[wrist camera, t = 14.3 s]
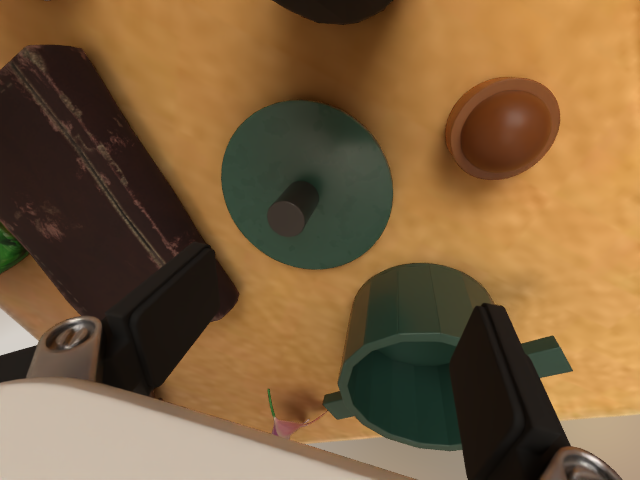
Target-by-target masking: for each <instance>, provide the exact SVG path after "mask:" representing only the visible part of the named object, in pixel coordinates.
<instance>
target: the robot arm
mask: <svg viewBox="0 0 640 480" xmlns="http://www.w3.org/2000/svg"><path fill="white" fill-rule="evenodd" d="M46 1H49V0H46ZM219 308H220V297H219V287H218V278H217V269H216V259H215V252H214V250H213V249H211V246H210V245H208V244H203V243H198V242H193V243H191V244H190V245H189V246H187V247H186V248H185V249H184V250H182V251H181V252H180V253H179V254H177V255H176V256H175V257H174V258H172V259H171V260H170V261H169V262H167V263H166V264H165V265H164V266H162V267H161V268H160V269H159V270H157V271H156V272H155V273H154V274H152V275H151V276H150V277H149V278H147V279H146V280H145V281H144V282H142V283H141V284H140V285H139V286H137V287H136V288H135V289H134V290H132V291H131V292H130V293H129V294H127V295H126V296H125V297H124V298H122V299H121V300H120V301H119V302H117V303H116V304H115V305H114V306H112V307H111V308H110V309H109V310H107V311H106V312H105V316H106V317H104V318H103V319H102V320H101V321H100V320H99V319H98V318H95V317H93V316H79V317H74V318H70V319H67V320H65V321H62V322H60V323H58V324H56V325H55V326H53V327H52V328H50V329H49V330H47V331H46V332H45V333H44V334H43V335H42V337H41V338H40V340H39V342H38V345H36V346H33V347H29V348H26V349H22V350H18V351H15V352H11V353H8V354H4V355H1V356H0V480H416V479H414V478H410V477H407V476H404V475H400V474H398V473H394V472H391V471H388V470H385V469H382V468H379V467H375V466H372V465H369V464H366V463H362V462H359V461H356V460H353V459H350V458H347V457H344V456H340V455H337V454H334V453H331V452H328V451H325V450H321V449H318V448H315V447H312V446H309V445H305V444H302V443H299V442H296V441H292V440H289V439H286V438H283V437H279V436H276V435H273V434H270V433H267V432H263V431H260V430H257V429H254V428H250V427H247V426H244V425H241V424H237V423H234V422H231V421H228V420H224V419H221V418H218V417H214V416H211V415H208V414H204V413H201V412H198V411H195V410H191V409H188V408H185V407H181V406H178V405H175V404H171V403H168V402H165V401H162V400H158V399H155V398H152V397H148V396H149V395H150V393H151V392H152V391H153V389H154V388H155V387H159V386H161V385H162V383H163V382H164V381H165V380H166V378H167V377H168V376H169V375H170V373H171V372H172V371H173V369H174V368H175V367H176V365H177V364H178V363H179V362H180V360H181V359H182V358H183V356H184V355H185V354H186V353H187V351H188V350H189V349H190V347H191V346H192V345H193V343H194V342H195V341H196V340H197V338H198V337H199V336H200V334H201V333H202V332H203V331H204V329H205V328H206V327H207V325H208V324H209V323H210V322H211V320H212V319H213V318H214V316H215V315H216V314H217V312H218V310H219ZM449 371H450V377H451V383H452V389H453V395H454V402H455V408H456V414H457V420H458V426H459V432H460V438H461V444H462V450H463V456H464V462H465V468H466V474H467V478H468V480H622V478H621V477H620V476H619V475H618V474H617V473H616V472H615V471H614V470H613V469H612V468H611V467H610V466H609V465H607V464H606V463H605V462H604V461H602V460H601V459H600V458H598V457H597V456H595V455H593V454H592V453H590V452H588V451H585V450H583V449H581V448H577V447H572V446H571V445H570V443H569V441H568V439H567V437H566V434H565V432H564V430H563V428H562V426H561V424H560V421H559V419H558V417H557V415H556V413H555V410H554V408H553V406H552V404H551V402H550V400H549V397H548V395H547V393H546V391H545V389H544V386H543V384H542V382H541V380H540V378H539V376H538V373H537V371H536V369H535V367H534V365H533V362H532V360H531V359H530V357H529V356H528V355H527V354H525V352H524V350H523V348H522V345H521V343H520V341H519V339H518V336H517V334H516V332H515V330H514V327H513V325H512V323H511V321H510V319H509V316H508V314H507V312H506V310H505V308H504V307H503V306H498V305H494V304H489V303H482V304H481V306H475V307H474V309H473V311H472V314H471V316H470V318H469V320H468V322H467V325H466V327H465V329H464V331H463V333H462V336H461V338H460V340H459V342H458V344H457V346H456V349H455V351H454V353H453V355H452V357H451V360H450V364H449ZM132 391H133V392H132ZM134 392H136V393H134ZM137 393H139V394H137ZM141 394H142V395H141Z"/></svg>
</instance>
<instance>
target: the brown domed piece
mask: <svg viewBox="0 0 640 480" xmlns="http://www.w3.org/2000/svg"><path fill="white" fill-rule="evenodd" d="M559 124H560V110H559V106H558V103H557V100H556V98H555V97H554V95H553V94H552V93H551V91H550V90H549V89H548V88H546V87H545V86H544V85H542V84H541V83H538V82H536V81H534V80H530V79H524V78H510V77H502V78H495V79H491V80H487V81H485V82H482V83H480V84H478V85H477V86H475V87H473V88H472V89H470V90H469V91H468V92H467V93H465V94H464V95H463V96H462V97H461V98H460V99H459V101H458V102H457V103H456V105H455V106H454V107H453V109H452V111H451V113H450V115H449V118H448V120H447V124H446V130H445V138H446V144H447V147H448V149H449V152H450V153H451V155H452V156H453V158H454V159H455V161H456V162H457V164H458V165H459V166H460V167H461V169H463V170H464V171H465V172H466V173H468V174H470V175H472V176H474V177H476V178H480V179H486V180H500V179H505V178H509V177H513V176H515V175H518V174H520V173H522V172H524V171H526V170H528V169H529V168H531V167H532V166H533V165H535V164H536V163H537V162H538V161H539V160H540V159H541V158H542V157H543V156H544V155H545V154H546V153H547V151H548V150H549V149H550V147H551V146H552V144H553V142H554V140H555V138H556V136H557V133H558V130H559Z"/></svg>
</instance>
